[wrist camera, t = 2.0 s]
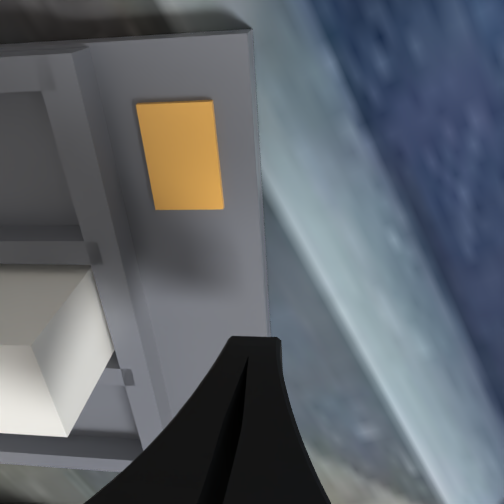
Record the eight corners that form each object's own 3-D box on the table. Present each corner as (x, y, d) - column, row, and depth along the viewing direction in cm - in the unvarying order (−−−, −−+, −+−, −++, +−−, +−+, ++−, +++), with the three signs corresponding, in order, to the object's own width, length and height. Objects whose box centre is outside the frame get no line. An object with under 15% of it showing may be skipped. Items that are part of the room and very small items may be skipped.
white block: (118, 342, 17) (67, 437, 13) (15, 338, 17) (-60, 429, 14) (96, 260, 15) (30, 345, 12) (-18, 259, 16) (-113, 340, 12)
